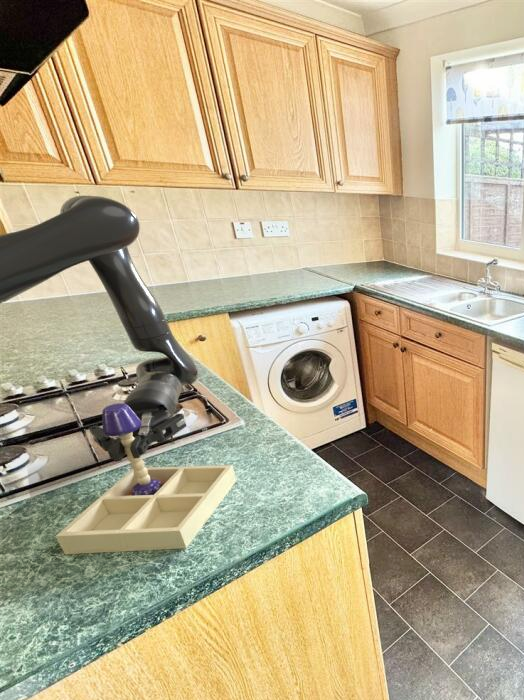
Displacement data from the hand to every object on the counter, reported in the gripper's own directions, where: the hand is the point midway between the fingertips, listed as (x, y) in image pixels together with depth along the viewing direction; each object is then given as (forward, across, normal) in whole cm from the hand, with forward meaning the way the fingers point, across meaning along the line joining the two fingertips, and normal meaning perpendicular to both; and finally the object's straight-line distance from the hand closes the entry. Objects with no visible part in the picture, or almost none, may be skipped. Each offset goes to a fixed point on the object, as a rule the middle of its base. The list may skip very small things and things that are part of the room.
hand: (125, 454), depth 66 cm
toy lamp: (-3, 0, +10) cm, 10 cm away
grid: (+2, +2, +11) cm, 11 cm away
